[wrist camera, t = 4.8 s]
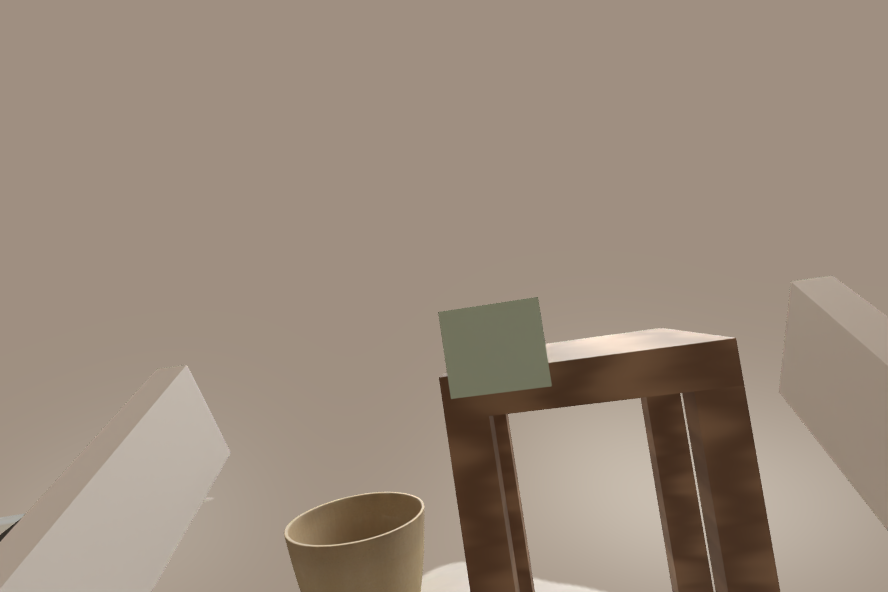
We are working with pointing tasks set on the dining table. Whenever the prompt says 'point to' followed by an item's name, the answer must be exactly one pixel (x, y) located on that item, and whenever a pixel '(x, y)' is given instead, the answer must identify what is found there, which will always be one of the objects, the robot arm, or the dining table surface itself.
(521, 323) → the green block
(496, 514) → the walnut stool
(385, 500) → the plant pot
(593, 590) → the dining table surface
